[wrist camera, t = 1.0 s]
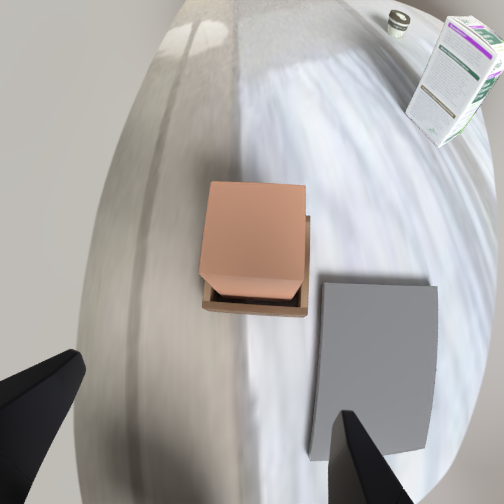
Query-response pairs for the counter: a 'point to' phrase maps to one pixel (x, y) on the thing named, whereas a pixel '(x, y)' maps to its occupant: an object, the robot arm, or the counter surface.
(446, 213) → the counter surface
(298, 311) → the walnut holder
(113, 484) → the counter surface
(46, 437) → the robot arm
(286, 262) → the terracotta block
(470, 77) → the syrup box
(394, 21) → the coffee cup
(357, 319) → the slate board
